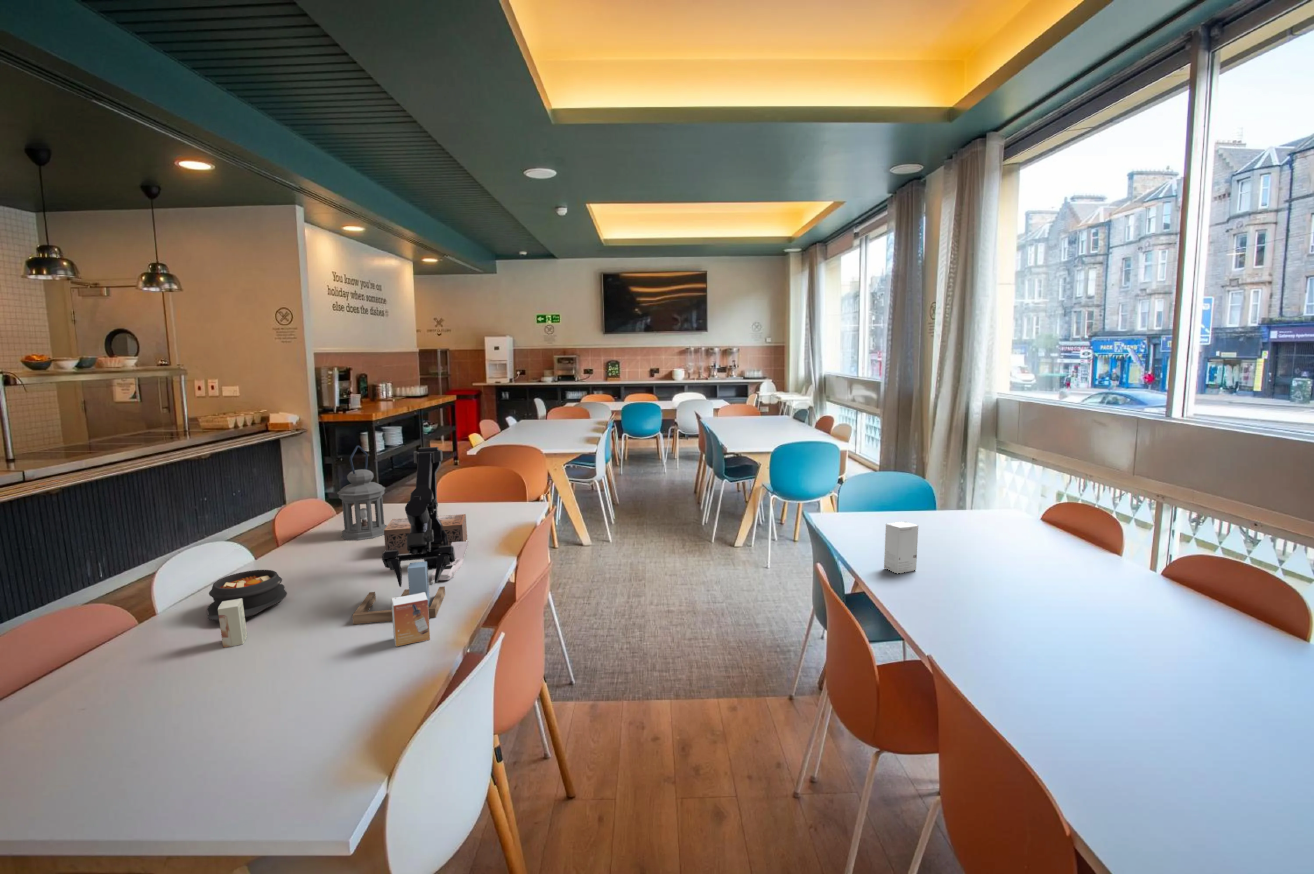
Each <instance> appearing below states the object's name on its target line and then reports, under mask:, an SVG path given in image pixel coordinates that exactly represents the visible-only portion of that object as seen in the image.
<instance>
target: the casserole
mask: <svg viewBox="0 0 1314 874" xmlns="http://www.w3.org/2000/svg"><path fill="white" fill-rule="evenodd" d="M282 582H283V578H282V577H281V576H279V574H278V572H277V571H275V570H272V569H253V570H247V571H242V572H241V571H240V572H238V573H233V574H230V575H227V576H224V577H222V578H219V579H217V580H216V581H214V582H213V584H212V586H211V589H210V591H209V592H208V595H209V597H211V598H212V599H213V602H211V603H210V604H209V605H208V606H207V608H206V611H207V613H208V615H207V617H206V618H207V620H209V621H215V622H216V621H217V622H218V621H219V615H218V607H219V606H220V604H221V603H222V601H228V600H235V599H241V598H242V600H243V607H244V615H245V618H248V617H252V616H255V615H257V614H259V613H261V612H262V611H264V610H265V609H268V608H270V607H273V606H274V605H277V604H278V603H280V602H282V601H283V600H284V599H286V597H287V596H288V592H287V591H286V589H285V587H286V586H285V584H282Z"/></svg>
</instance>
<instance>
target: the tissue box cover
mask: <svg viewBox="0 0 1314 874" xmlns="http://www.w3.org/2000/svg"><path fill="white" fill-rule="evenodd" d="M438 519H439V520H440V522H441V523H442V525H443V530H445V532H446V534H447V537H448V545H451V544H452V542H466V540H468V530H467V514H466V513H463V514H462V513H461V514H449V515H438ZM410 527H411V524H410V523H409V521H408V518H407V517H403V518H392V519H391V520H390V522H389V523H388V524H387V527H386V528H385V529H384V535H383V537H384V548H385V550H384V551H388V550H398V551H399V554H407V553H409V551H408V550H407V534H410ZM442 542H443V541H442Z"/></svg>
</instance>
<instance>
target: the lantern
mask: <svg viewBox="0 0 1314 874" xmlns="http://www.w3.org/2000/svg"><path fill="white" fill-rule="evenodd" d="M358 448H359V450H361V452H363V454H364V455H365V460H364V461H365V463H364V465H365V466H364V469H355V468H354V467H355V466H354V464H353V457H354V456H355V454H356V452H357V450H358ZM368 457H369V455H368V453H367V452H366V451H365V449H363V447H361V446H360V445H356V446H355V448H354V449H353V451H352V453H351V454H350V456H349V464H350V468H351V471H350V472H349V473H348V474H347V475H346V478H347V480H348V482H349V484H347V485H345V486H343V487H342V488H341V489H340V490H339V491H337V493H336V494H337V495H338V498H339V499H340V500H341V506H342V515H343V527H344V529H343V530H342V534H341V535H340V536H341V538H342V539H344V540H345V541H356V542H357V541H365V540H373V539H376V538H379V537H384V529H385V528H386V527H387V526H388V524H386V523H385V516H384V512H385V511H384V502H383V501H384V500H383V495H384V494H385V493H386V491H385V490H386V487H385V486H383V485H382V484H379V483H377V482H376V481H373V479H374V477H375V476H374V472H373V471H371V470H370V469H368V463H369V461H368V459H369V458H368ZM372 502H374V515H375V520H373V515H372V513H373V512H372ZM363 503H364V504H365V507H362V508H361V504H363ZM352 504H353V505H354V517H355V523H354V520H353V510H352V509H353V508H352Z"/></svg>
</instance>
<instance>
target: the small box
mask: <svg viewBox="0 0 1314 874" xmlns="http://www.w3.org/2000/svg"><path fill="white" fill-rule="evenodd" d="M391 610H392V617H393V621H392V629H393V631H392V632H393V640H394V645H395V647H399V646H405V645H409V644H414V643H420V642H426V640H427V641H430V640H431V629H430V618H429V611H428V599H427V596H426V593H425V592H422V593H419V594H413V595H408V596H402V597H401V596H397V597H391Z"/></svg>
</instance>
